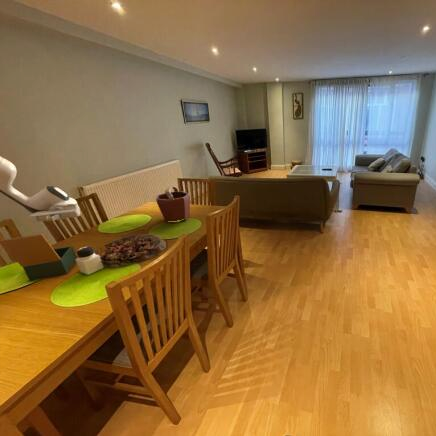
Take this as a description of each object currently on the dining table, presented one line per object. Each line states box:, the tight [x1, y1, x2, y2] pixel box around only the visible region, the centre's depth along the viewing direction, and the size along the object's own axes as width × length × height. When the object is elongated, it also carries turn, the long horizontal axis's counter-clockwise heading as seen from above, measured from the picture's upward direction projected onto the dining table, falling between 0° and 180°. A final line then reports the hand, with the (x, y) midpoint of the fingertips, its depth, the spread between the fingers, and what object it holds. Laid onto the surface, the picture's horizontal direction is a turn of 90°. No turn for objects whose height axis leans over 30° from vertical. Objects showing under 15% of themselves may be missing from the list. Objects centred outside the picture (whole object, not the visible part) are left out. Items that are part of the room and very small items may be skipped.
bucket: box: [155, 185, 191, 224], centre depth 177 cm, size 24×22×25 cm
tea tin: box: [22, 245, 79, 282], centre depth 119 cm, size 16×14×8 cm
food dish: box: [94, 233, 167, 268], centre depth 135 cm, size 35×33×8 cm
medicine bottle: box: [75, 246, 105, 275], centre depth 117 cm, size 7×7×12 cm
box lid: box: [0, 233, 61, 268], centre depth 105 cm, size 17×14×1 cm
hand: (49, 219), depth 123 cm, fingers closed
